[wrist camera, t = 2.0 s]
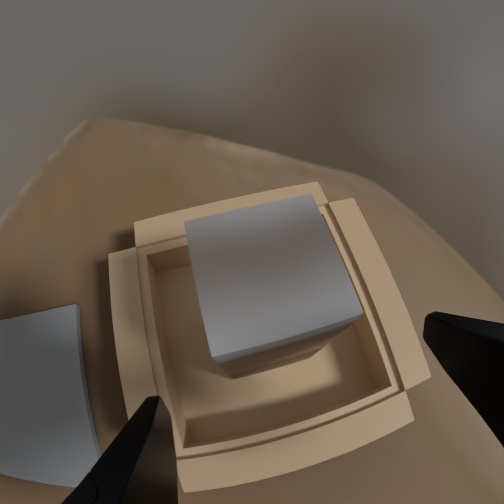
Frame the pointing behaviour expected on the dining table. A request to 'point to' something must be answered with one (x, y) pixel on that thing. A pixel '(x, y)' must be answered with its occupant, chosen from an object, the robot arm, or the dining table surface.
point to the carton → (269, 382)
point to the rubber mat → (45, 399)
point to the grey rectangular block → (269, 284)
